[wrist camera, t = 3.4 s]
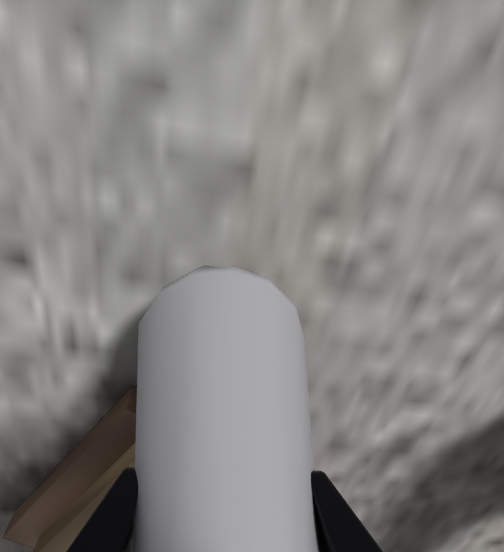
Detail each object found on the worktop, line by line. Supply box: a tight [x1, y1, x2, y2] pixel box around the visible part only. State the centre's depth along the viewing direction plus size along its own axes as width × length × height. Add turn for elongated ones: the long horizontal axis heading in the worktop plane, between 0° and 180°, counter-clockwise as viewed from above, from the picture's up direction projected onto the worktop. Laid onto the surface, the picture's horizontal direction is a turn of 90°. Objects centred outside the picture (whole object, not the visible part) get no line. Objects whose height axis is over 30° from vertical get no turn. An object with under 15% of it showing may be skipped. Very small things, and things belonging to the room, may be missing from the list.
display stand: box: [2, 386, 137, 552], centre depth 22 cm, size 14×12×3 cm
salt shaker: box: [133, 265, 319, 552], centre depth 9 cm, size 6×6×13 cm
